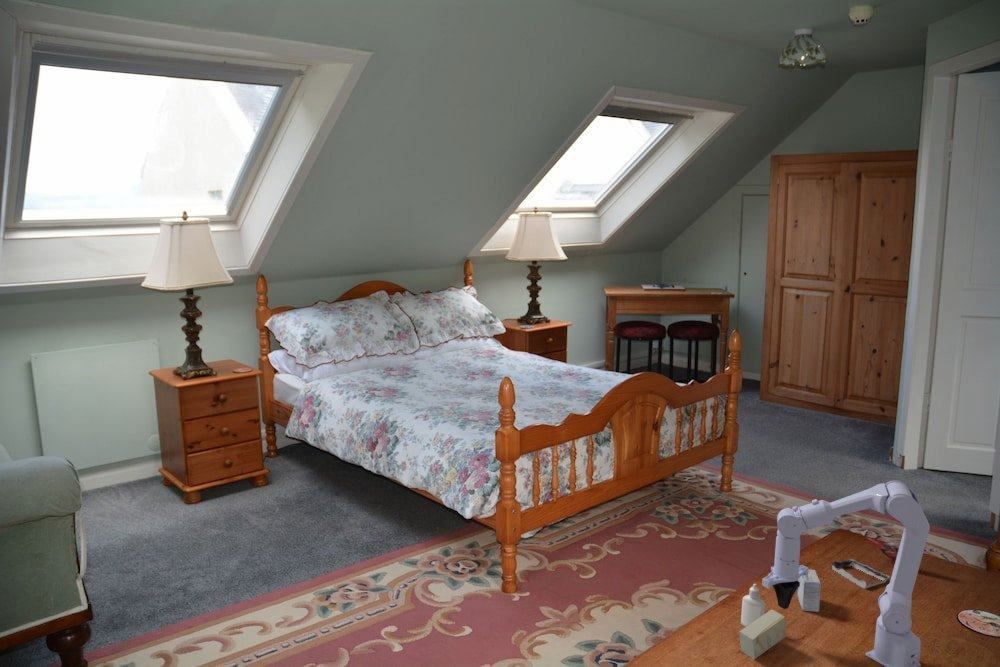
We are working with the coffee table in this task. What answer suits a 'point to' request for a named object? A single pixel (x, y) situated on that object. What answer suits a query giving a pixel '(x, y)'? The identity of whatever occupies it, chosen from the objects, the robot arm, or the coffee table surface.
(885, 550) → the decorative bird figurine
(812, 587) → the medicine box
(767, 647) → the skincare box
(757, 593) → the eye dropper bottle
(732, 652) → the coffee table surface
